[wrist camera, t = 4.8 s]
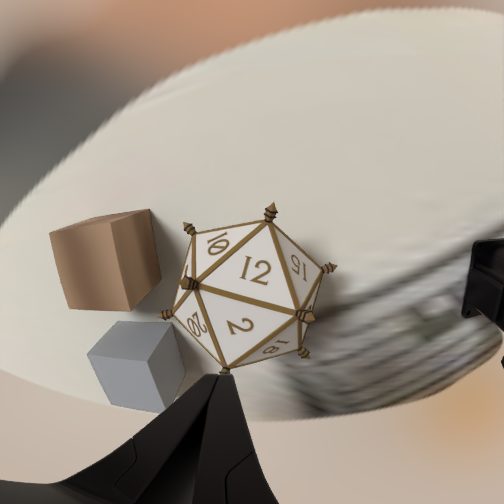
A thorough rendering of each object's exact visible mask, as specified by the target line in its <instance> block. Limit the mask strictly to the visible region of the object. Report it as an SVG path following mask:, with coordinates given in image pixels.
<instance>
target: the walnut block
mask: <svg viewBox="0 0 504 504" xmlns="http://www.w3.org/2000/svg"><path fill="white" fill-rule="evenodd" d="M49 235H50V240H51V245H52V249H53V253H54V258H55V262H56V266H57V270H58V273H59V277H60V281H61V284H62V287H63V291H64V294H65V297H66V300H67V304H68V307H69V309H78V310H98V311H128V312H131V311H132V310H133V309H134V307H135V306H136V305H137V304H138V303H139V302H140V301H141V300H142V299H143V298H144V297H145V296H146V295H147V294H148V293H149V292H150V291H151V290H152V289H153V288H154V287H155V286H156V285H157V284H158V283H159V282H160V281H161V280H162V278H161V273H160V268H159V263H158V258H157V252H156V247H155V241H154V235H153V229H152V223H151V216H150V210H149V209H144V210H137V211H130V212H124V213H118V214H112V215H106V216H100V217H94V218H90V219H87V220H84V221H81V222H78V223H75V224H73V225H70V226H67V227H64V228H61V229H58V230H56V231H53V232H50V233H49Z"/></svg>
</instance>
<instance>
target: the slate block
mask: <svg viewBox="0 0 504 504" xmlns="http://www.w3.org/2000/svg"><path fill="white" fill-rule="evenodd" d="M87 356H88V358H89V360H90V363H91V365H92V367H93V369H94V371H95V374H96V376H97V378H98V380H99V382H100V384H101V386H102V388H103V390H104V392H105V394H106V396H107V397H108V399H109V401H110V403H111V405H116V406H120V407H125V408H130V409H136V410H141V411H147V412H154V413H160V414H161V413H162V412H163V411H164V410H165V409H166V408H168V407H169V406H170V405H171V404H172V403H173V402H174V399H175V397H176V395H177V392H178V390H179V388H180V385H181V383H182V381H183V378H184V376H185V374H186V372H185V369H184V365H183V362H182V358H181V355H180V351H179V348H178V344H177V340H176V337H175V333H174V329H173V325H172V323H171V322H131V321H117V322H116V323H115V324H114V325H113V326H112V327H111V328H110V329H109V331H108V332H107V333H106V334H105V335H104V336H103V337H102V338H101V339H100V340H99V341H98V342H97V343H96V344H95V345H94V347H93V348H92V349H91V350H90V351H89V352H88V353H87Z"/></svg>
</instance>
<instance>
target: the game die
mask: <svg viewBox="0 0 504 504" xmlns="http://www.w3.org/2000/svg"><path fill="white" fill-rule="evenodd" d="M265 210H266V212H265V213H264V215H265V220H259V221H254V222H248V223H243V224H238V225H232V226H227V227H222V228H217V229H212V230H207V231H202V232H196V231H195V227H193V226H192V224H189V223H185V222H183V224H184V231H186V232H187V234H190V235H191V236H192V238H191V242H190V245H189V248H188V252H187V255H186V259H185V262H184V266H183V269H182V273H181V277H180V280H179V284H178V288H177V292H176V296H175V299H174V303H173V307H172V310H166V311H164V310H163V311H161V314H160V315H159V316H158V317H159V318H162V319H164V320H165V321H166V319H170V318H171V317H172V316H174V317H175V318H176V319H177V320H178V321H179V322H180V323H181V324H182V326H183V327H184V328H185V329H186V330H187V331H188V332H189V333H190V334H191V335H192V336H193V337H194V338H195V339H196V340H197V341H198V343H199V344H200V345H201V346H202V347H203V348H204V349H205V350H206V351H207V352H208V353H209V354H210V355H211V356H212V357H213V358H214V359H215V360H216V361H217V362H218V363H219V364H220V365H221V366H222V367H223V369H222V371H221V372H219V373H220V375H221V374H230V369H233V368H237V367H241V366H245V365H248V364H252V363H256V362H259V361H263V360H266V359H270V358H273V357H277V356H280V355H283V354H287V353H290V352H293V351H296V350H297V351H298V353H299V354H298V355H300V356H301V358H306V359H310V356H309V353H310V352H309V351H308V350H307V349H306V348H303V347H302V344H303V341H304V338H305V334H306V331H307V328H308V325H309V323H310V322H312V321H314V320H315V318H314V316H313V312H312V311H313V308H314V304H315V301H316V297H317V294H318V290H319V287H320V283H321V279H322V276H323V273H329V272H333V271H334V270H335V268H336V267H337V265H334V264H331V263H330V262H329V264H327V265H326V264H325V266H323V267H320V266H319V265H318V264H317V263H316V262H315V261H314V260H313V259H312V258H311V257H309V256H308V255H307V254H306V253H305V252H304V251H303V250H302V249H301V248H300V247H299V246H298V245H297V244H296V243H295V242H294V241H292V240H291V239H290V238H289V237H288V236H287V235H286V234H285V233H284V232H283V231H282V230H281V229H279V228H278V227H277V226H276V225H275V224H274V223H273V222H272V221H273V219H274V218H276V216H275V215H276V213H278V212H277V210H276V207H275V204H274V202H273V203H272V204H271V205H270V206H269V207H267V208H265Z"/></svg>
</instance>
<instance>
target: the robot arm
mask: <svg viewBox="0 0 504 504" xmlns="http://www.w3.org/2000/svg"><path fill="white" fill-rule="evenodd" d="M478 246H479V248H478ZM467 311H468V312H467ZM482 314H483V315H484V316H485V317H486V318H487V319H488V320H489V321H491V322H492V323H495V324H496V325H497V326H498V327H499V328H500V329H501V330H502V331H503V332H504V238H501V239H488V240H477V241H475V242H474V244H473V249H472V258H471V265H470V272H469V278H468V284H467V290H466V295H465V300H464V305H463V309H462V316H464V317H465V318H470V317H474V316H478V315H482ZM501 363H502V366H503V368H504V356H503V358H502V360H501ZM0 504H279V503H278V501H277V499H276V498H275V496H274V494H273V493H272V491H271V489H270V487H269V485H268V483H267V481H266V479H265V477H264V474H263V472H262V469H261V466H260V464H259V461H258V458H257V454H256V452H255V449H254V446H253V442H252V439H251V436H250V432H249V429H248V426H247V422H246V419H245V416H244V412H243V409H242V405H241V402H240V398H239V395H238V391H237V387H236V384H235V380H234V377H233V375H232V374H221V375H218V374H205V375H204V376H203V377H202V378H201V379H200V380H198V381H197V382H196V383H195V384H194V385H193V386H192V387H191V388H189V389H188V390H187V391H186V392H185V393H184V394H183V395H182V396H180V397H179V398H178V399H177V400H176V401H175V402H173V403H172V404H171V405H170V406H169V407H168V408H166V409H165V410H164V411H163V412H162V413H161V414H159V415H158V416H157V417H156V418H155V419H153V420H152V421H151V422H150V423H149V424H147V425H146V426H145V427H144V428H143V429H141V430H140V431H139V432H138V433H136V434H135V435H134V436H133V439H132V438H130V439H129V440H128V441H126V442H125V443H124V444H122V445H121V446H120V447H118V448H117V449H116V450H114V451H113V452H112V453H110V454H109V455H107V456H105V457H104V458H102V459H101V460H99V461H98V462H96V463H94V464H92V465H91V466H89V467H87V468H85V469H83V470H82V471H80V472H78V473H77V474H74V475H72V476H71V477H69V478H67V479H65V480H62V481H59V482H56V483H50V484H37V483H23V482H13V481H6V480H0Z"/></svg>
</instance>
